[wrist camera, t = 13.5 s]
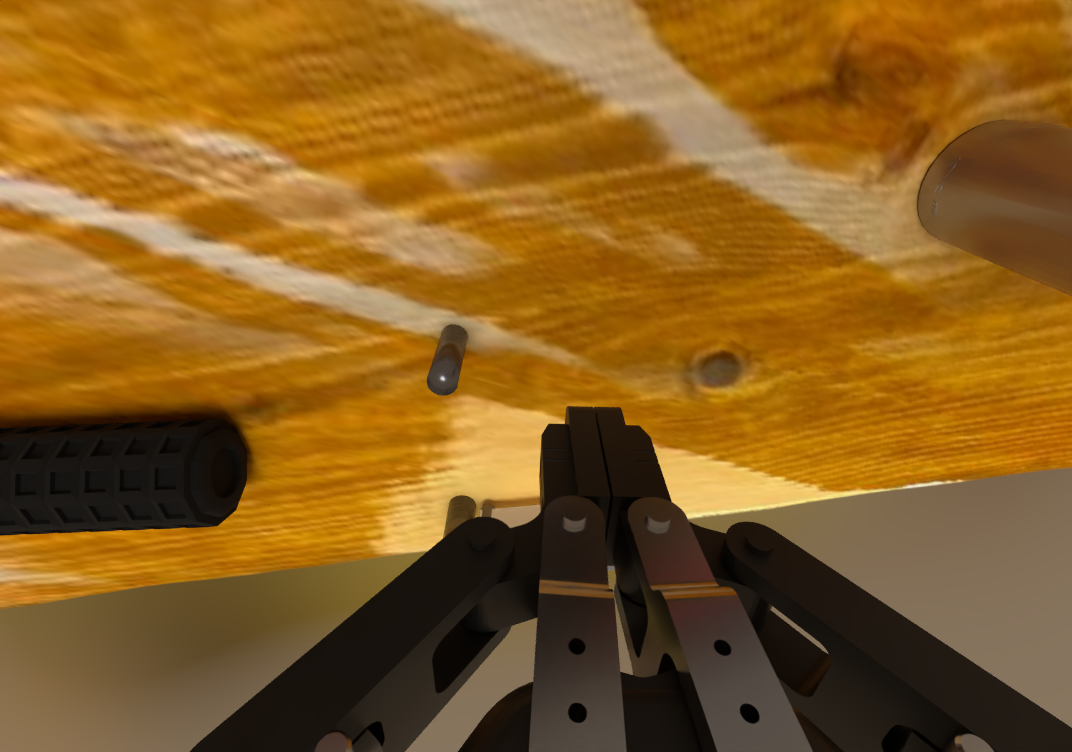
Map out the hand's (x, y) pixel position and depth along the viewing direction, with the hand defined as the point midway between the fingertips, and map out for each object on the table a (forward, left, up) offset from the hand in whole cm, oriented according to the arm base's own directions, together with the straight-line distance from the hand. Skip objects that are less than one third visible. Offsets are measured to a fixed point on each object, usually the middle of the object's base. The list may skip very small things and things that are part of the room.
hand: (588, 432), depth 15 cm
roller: (+48, +27, -31) cm, 64 cm away
